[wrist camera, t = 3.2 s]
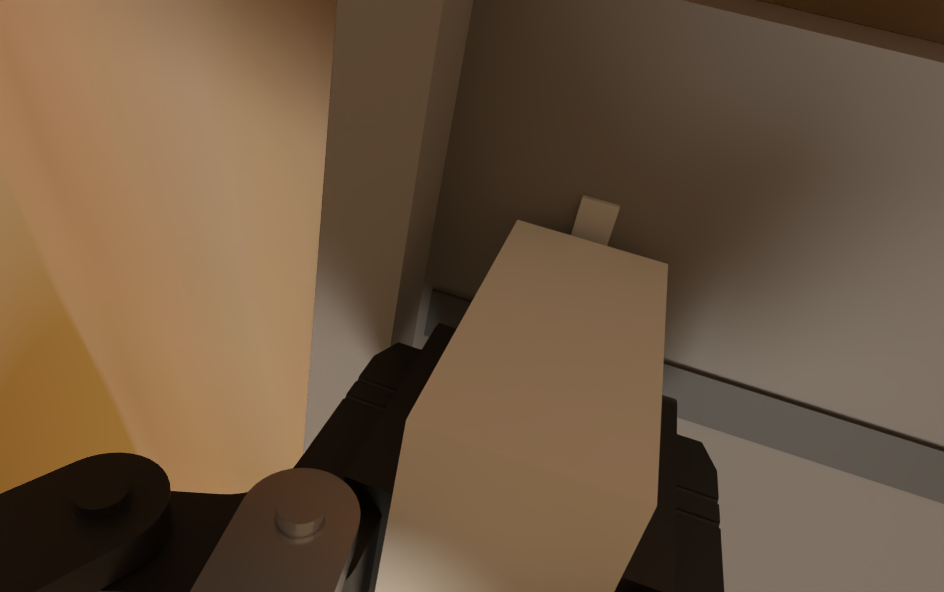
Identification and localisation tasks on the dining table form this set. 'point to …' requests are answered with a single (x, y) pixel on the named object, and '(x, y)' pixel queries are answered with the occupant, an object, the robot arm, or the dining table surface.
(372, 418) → the robot arm
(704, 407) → the console
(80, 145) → the dining table surface
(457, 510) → the fader tab
